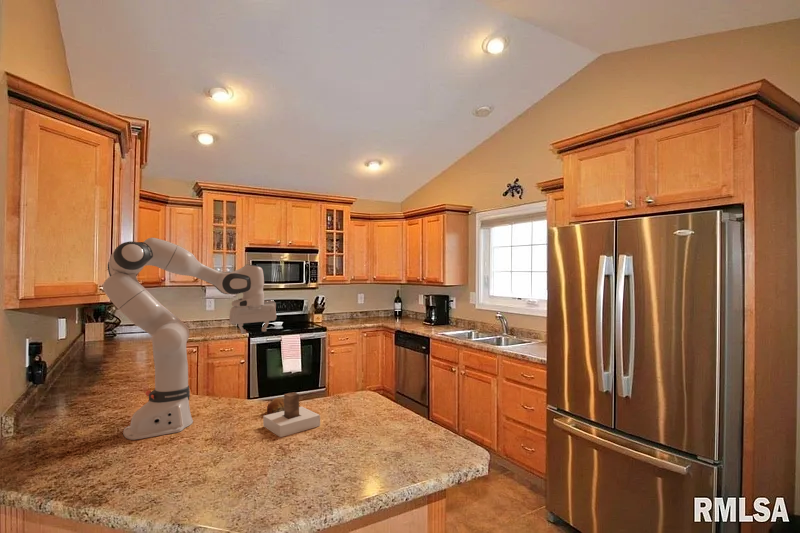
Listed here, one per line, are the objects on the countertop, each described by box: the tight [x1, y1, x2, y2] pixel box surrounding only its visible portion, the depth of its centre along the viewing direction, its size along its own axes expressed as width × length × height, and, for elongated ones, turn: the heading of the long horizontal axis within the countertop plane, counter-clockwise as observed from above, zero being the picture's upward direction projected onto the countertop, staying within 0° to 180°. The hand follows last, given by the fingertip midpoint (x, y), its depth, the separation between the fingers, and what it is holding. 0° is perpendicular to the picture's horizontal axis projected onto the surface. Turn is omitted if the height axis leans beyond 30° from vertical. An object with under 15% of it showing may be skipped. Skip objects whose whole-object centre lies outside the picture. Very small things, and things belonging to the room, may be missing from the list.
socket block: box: [262, 406, 321, 438], centre depth 158 cm, size 16×14×4 cm
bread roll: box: [266, 396, 284, 415], centre depth 173 cm, size 10×10×8 cm
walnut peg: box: [283, 391, 300, 419], centre depth 158 cm, size 4×4×12 cm
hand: (253, 332), depth 186 cm, fingers open, 8 cm apart
